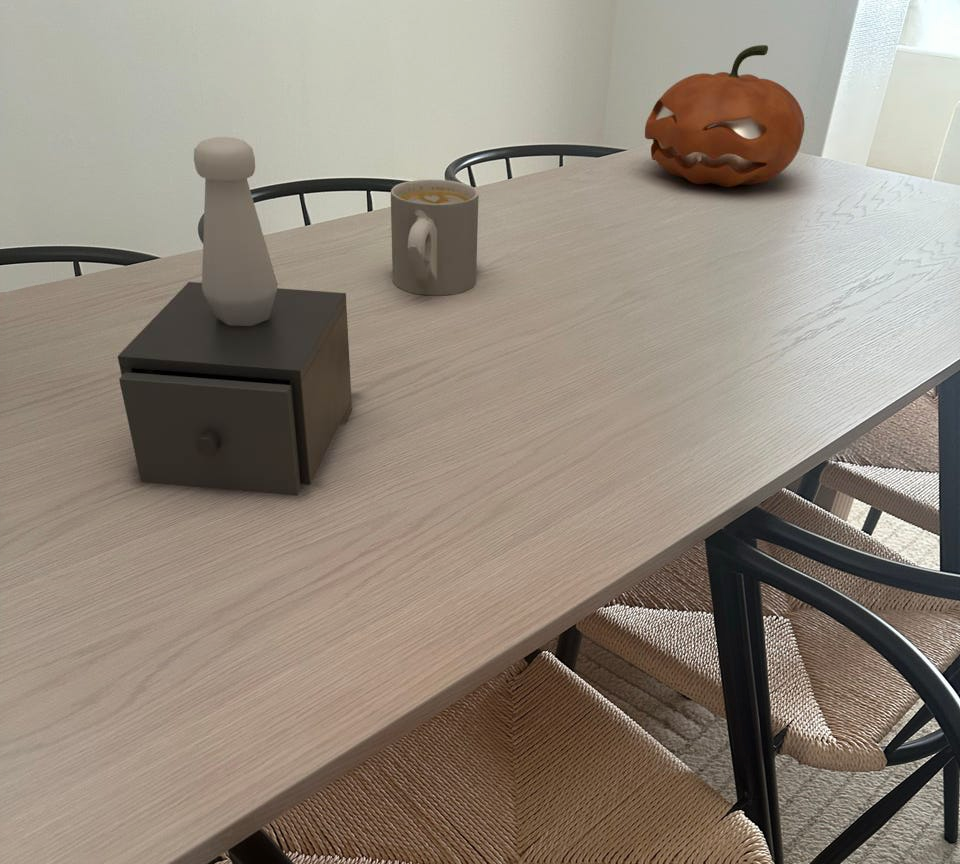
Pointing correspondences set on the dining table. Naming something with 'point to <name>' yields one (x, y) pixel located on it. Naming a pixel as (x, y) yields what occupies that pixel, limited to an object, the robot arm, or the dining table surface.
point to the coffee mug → (434, 236)
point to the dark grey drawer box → (261, 356)
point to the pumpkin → (726, 127)
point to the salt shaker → (233, 235)
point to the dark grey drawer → (213, 431)
